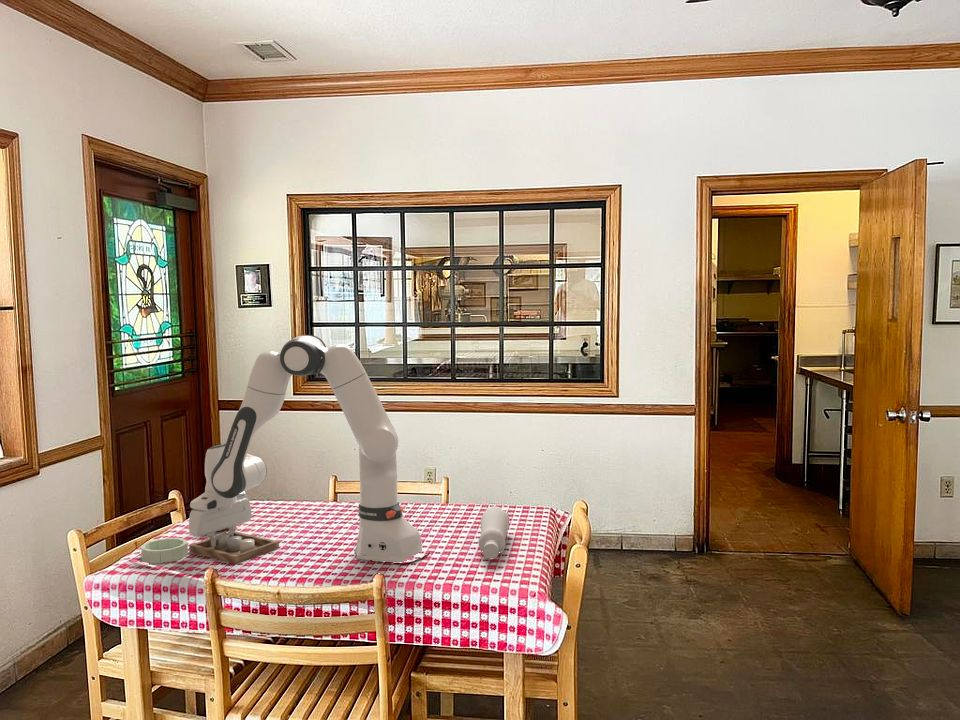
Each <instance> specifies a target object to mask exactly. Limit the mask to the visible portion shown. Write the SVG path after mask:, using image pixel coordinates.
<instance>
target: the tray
mask: <svg viewBox="0 0 960 720" xmlns="http://www.w3.org/2000/svg"><path fill="white" fill-rule="evenodd" d="M233 536H241V537H242V540H244V539H254V549H251V550H248V551H246V552H243V553H240V551H238V552H228V551H227V548H225V549H216V548H215V546H211V540H210V539H209V538H208V539H204V540H201V541H198V542H194V543H191V544H189V546H188V553H192V554H196V555H199V556H202V557H203V556H204V557H208V558H212V559H215V560H218V561H219V560H220V561H223V562H227V563H230V564H234V565H237V564H240V563H242V562H245V561H247V560H251V559H253V558H256V557H258V556H261V555H264V554H267V553H270V552H272V551H275V550H278V549H280V541H278V540H274V539H270V538H265V537H260V536H257V535H252V534H247V533H243V532H238V531H235V533H234V535H233Z"/></svg>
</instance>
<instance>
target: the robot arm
mask: <svg viewBox="0 0 960 720" xmlns="http://www.w3.org/2000/svg"><path fill="white" fill-rule="evenodd" d="M317 374H322V375H323V377H324V378H325V379H326V381H327V382H328V384H329V385H328V386H329V387H330V388H331V390H332V393H333V394H334V397H335V398H336V400H337V402H338V405H339V406H340V408H341V411H342V412H343V414H344V417H345V419H346V421H347V424H348V425H349V427H350V429H351V431H352V433H353V436H354V438H355V440H356V442H357V444H358V447H359V448H358V449H359V450H358V451H359V456H358V458H359V504H358V517H359V526H358V534H357V541H356V545H355V549H354V553H355V554H356V559H357V560H362V561H363V560H364V561H370V560H372V561H373V562H378V561H385V562H404V561H407V560H406V558H411V557H412V556H413V555H416V554H418V553H419V552H421V551H422V546H423V545H422V544H423V543H422V538H421V533H420V532H419V530H418V529H417V528H415V526H413V525H412V524H411V523H410V522H409V521H408V520H407V519H406V518H405V517H404V516H403V512H404V511H406V509H405V508H406V506H402V507H401V505H400V503H399V501H398V468H397V465H398V464H397V450H398V447H399V437H398V433H397V432H396V429H395V427H394V425H393V424H392V422H391V420H390V417H389V416H388V414H387V411H386V410H385V408H384V405H383V403H382V401H381V400H380V398H379V396H378V394H377V391H376V389H375V387H374V385H373V383H372V381H371V380H370V377H369V375H368V373H367V371H366V369H365V367H364V366H363V364H362V362H361V360H360V359H359V358H358V357H357V355H356V353H355V352H354V350H353V349H352V348H351V347H350V346H349V345H346V344H341V343H339V344H334V345H331V346H330V347H327V346H326V344H325V342H324V341H323V340H322V339H321V338H320V337H318V336H316V335H314V334H313V335H312V334H304V335H298V336H296V337H293V338H292V339H291V340H288V341H287V342H286V343H285V344H284V345H283V347H281V350H280V352H278V351H273V350H270V351H269V350H268V351H264V352H261V353H260V354H259V355H258V356H257V357H256V359H255V361H254V364H253V366H252V369H251V372H250V374H249V377H248V382H247V386H246V390H245V393H244V396H243V399H242V402H241V404H240V407H239V409H238V411H237V413H236V416H235V417H234V419H233V421H232V424H231V427H230V431H229V433H228V437H227V439H226V442H225V443H222V444H217V445H216V444H215V445H213V446H210V447H209V448H207V450H206V453H205V458H204V476H205V479H206V483H205V487H204V492H203V493H202V494H200V495H199V496H198V497H196V498H194V499H192V500H191V501H190V504H189V507H190V509H192V510H191V511H190V513H189V515H188V516H189V518H188V519H189V520H188V521H189V522H188V530H189V534H190V535H191V536H194V537H202V536H205V535H206V536H207V538H208V539H210V540H211V546H217V545H219V543H218V542H219V540H218V539H215V535H216V534H217V533H216V532H220V531H219V530H222V529H225V530H227V529H226V528H228V529H229V530H228V532H227V533H228V534H229V537H231V536H233V535H234V533H235V532H237V526H238V525H241V524H245V523H247V522H250V521H252V520H251V519H252V517H253V516H252V515H253V514H252V506H251V501H250V494H248V493H247V492H246V491H248V490H251V489H252V488H255V487H257V486H259V485H261V484H262V483H263V482H264V481H265V479H266V477H267V474H268V472H267V470H268V468H267V465H266V463H265V461H264V460H263V459H262V458H261V457H260V456H259V455H255V454H254V455H253V454H249V453H248V452H249V449H250V445H251V442H252V440H253V438H254V436H255V434H256V433H257V432H258V431H259V430H260V429H261V428H262V427H263V426H264V425H265V424H266V423H267V422H269V421H270V420H272V419H274V418H275V417H277V416H278V414H279V412H280V411H281V409H282V407H283V404H284V402H285V398H286V394H287V390H288V385H289V382H290V379H291V377H292V376H296V377H305V376H311V375H317ZM413 558H414V557H413ZM413 558H411V559H413ZM411 559H410V560H411ZM372 561H371V562H372ZM385 562H384V563H385Z"/></svg>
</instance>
